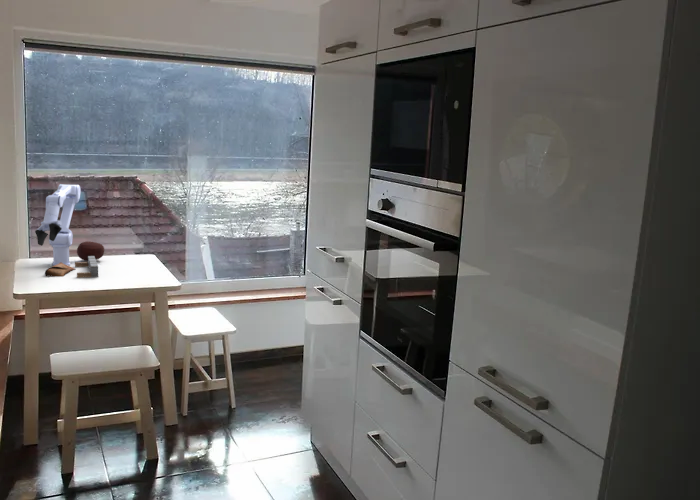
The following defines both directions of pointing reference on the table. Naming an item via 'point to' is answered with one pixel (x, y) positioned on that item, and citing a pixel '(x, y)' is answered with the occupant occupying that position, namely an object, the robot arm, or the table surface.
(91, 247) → the potato
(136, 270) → the table surface
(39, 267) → the table surface
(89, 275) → the dock
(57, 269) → the sunglasses case
